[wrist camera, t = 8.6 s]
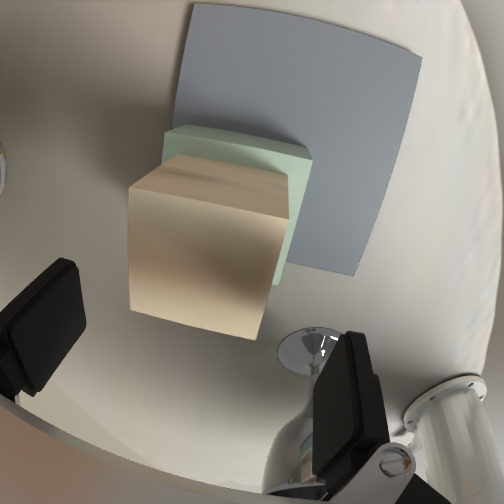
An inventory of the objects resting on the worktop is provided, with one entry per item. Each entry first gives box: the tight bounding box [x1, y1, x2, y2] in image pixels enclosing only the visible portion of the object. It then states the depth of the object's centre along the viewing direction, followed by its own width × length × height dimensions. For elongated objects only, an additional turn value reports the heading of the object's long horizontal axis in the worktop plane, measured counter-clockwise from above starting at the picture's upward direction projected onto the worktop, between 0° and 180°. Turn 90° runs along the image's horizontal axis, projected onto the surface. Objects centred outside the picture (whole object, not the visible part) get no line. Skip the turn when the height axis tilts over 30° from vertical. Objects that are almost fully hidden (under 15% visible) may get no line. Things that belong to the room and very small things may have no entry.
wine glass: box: [261, 327, 341, 501], centre depth 23 cm, size 8×8×15 cm
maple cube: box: [128, 154, 289, 340], centre depth 15 cm, size 6×6×6 cm
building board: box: [171, 3, 422, 276], centre depth 20 cm, size 17×15×1 cm
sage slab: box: [161, 124, 313, 286], centre depth 19 cm, size 8×8×4 cm
